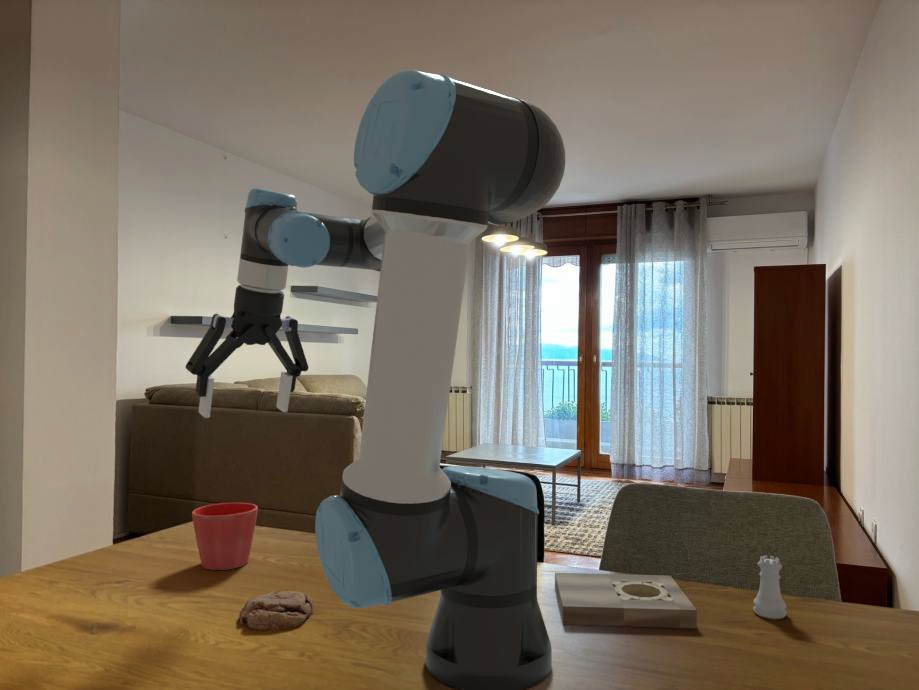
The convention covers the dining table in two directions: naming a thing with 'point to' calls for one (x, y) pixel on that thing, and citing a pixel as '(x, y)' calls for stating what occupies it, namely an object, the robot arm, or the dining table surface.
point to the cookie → (276, 610)
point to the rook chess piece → (769, 590)
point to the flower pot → (224, 534)
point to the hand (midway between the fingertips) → (244, 412)
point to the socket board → (623, 601)
